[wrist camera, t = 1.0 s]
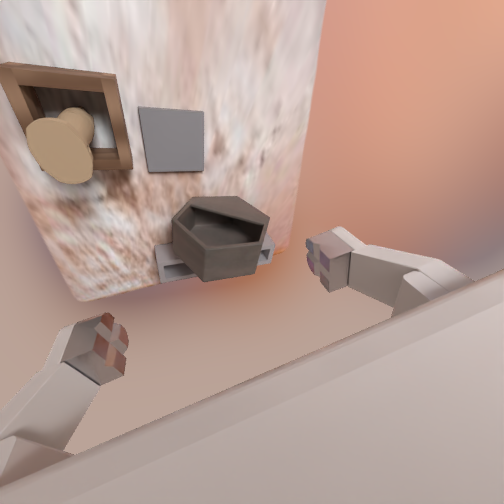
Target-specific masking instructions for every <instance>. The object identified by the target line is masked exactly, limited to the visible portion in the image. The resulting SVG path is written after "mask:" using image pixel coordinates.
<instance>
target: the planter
mask: <svg viewBox="0 0 504 504" xmlns="http://www.w3.org/2000/svg"><path fill="white" fill-rule="evenodd" d="M269 219H270V217H268V216H267V215H265V214H264V213H262V212H261V211H259V210H258V209H256V208H255V207H253V206H252V205H250V204H249V203H247V202H246V201H244V200H242V199H241V198H239V197H237V196H222V197H193V198H192V199H191V200H190V201H189V202H188V203H187V204H186V205H185V206H184V207H183V208H182V209H181V210H180V211H179V212H178V213H177V214H176V215H175V216H174V217H173V218H172V237H173V252H174V253H175V254H176V255H177V256H178V257H179V258H180V259H181V260H182V261H183V262H184V263H185V264H186V265H187V266H188V267H189V268H190V269H191V270H192V271H193V272H194V273H195V274H196V275H197V276H198V277H199V278H200V279H201V280H202V281H203V282H208V281H214V280H220V279H226V278H233V277H238V276H245V275H251V274H254V273H255V270H256V267H257V264H258V260H259V256H260V253H261V249H262V245H263V242H264V238H265V234H266V231H267V227H268V223H269Z"/></svg>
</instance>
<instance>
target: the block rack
mask: <svg viewBox="0 0 504 504" xmlns="http://www.w3.org/2000/svg"><path fill="white" fill-rule="evenodd" d="M274 248H275V243H274V242H273V240H272V239H271V238H270V236H269V235H268V233H267V232H266V234H265V238H264V242H263V245H262V249H261V253H260V256H259V260H258V264H257V265H262V264H267V263H271V259H272V256H273V252H274ZM155 252H156V260H157V266H158V271H159V277H160V282H161V283H166V282H171V281H176V280H182V279H187V278H192V277H198V276H197V275H196V274H195V273H194V272H193V271H192V270H191V269H190V268H189V267H188V266H187V265H186V264H185V263H184V262H183V261H182V260H181V259H180V258H179V257H178V256H177V255H176V254H175V253H174V252H173V243H169V244H161V245H155Z"/></svg>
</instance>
